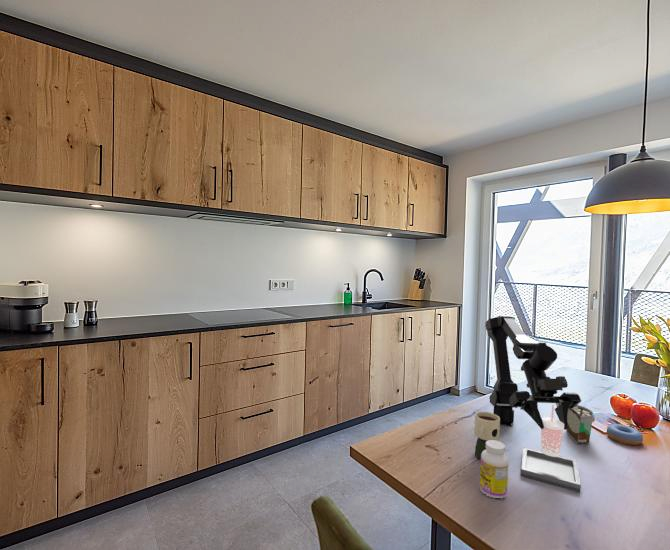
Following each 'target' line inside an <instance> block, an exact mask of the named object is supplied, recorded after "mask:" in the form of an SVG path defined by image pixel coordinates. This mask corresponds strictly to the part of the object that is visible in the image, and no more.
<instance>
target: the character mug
mask: <svg viewBox="0 0 670 550" xmlns="http://www.w3.org/2000/svg"><path fill="white" fill-rule="evenodd" d="M493 413H494V412H488V411H477V412H475V415H474V427H473V428H474V429H473V431H474V432H473V433H474V436H475V437H477V438H476V441H475V447H474V448H475V449H474V455H475V456H476V457H477V458H479V459H481V453H482V452H483V451H484V450H485V449H486V441H488V440H496V441H499V439H500V429H501V428H500V427H501V426H500V425H501V424H500V418H499V416H497V415H495V414H493Z"/></svg>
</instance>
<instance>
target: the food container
mask: <svg viewBox="0 0 670 550" xmlns="http://www.w3.org/2000/svg"><path fill="white" fill-rule="evenodd" d="M595 421H596V418H595V414H594V412H593V411H592V410H591V409H589V408H587V407H585V406H582V405H579V404H578V405H576V406H575V407H574V408H571V409H568V414H567V429H566V431H565V432H566V433H567V434H568V435H569V436H570V437H571V439H573V441H574V442H575V443H576V444H577V445H587V444H589V443H590V438H591V433H592V432H591V431H592V425H593V423H594V422H595Z"/></svg>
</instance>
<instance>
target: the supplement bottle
mask: <svg viewBox="0 0 670 550" xmlns="http://www.w3.org/2000/svg"><path fill="white" fill-rule="evenodd" d="M505 452H506V445H505V444H504V442H501V441H499V440H488V441H486V449H485V450H484V451H483V452H482V453H481V458H480V469H479V471H480V472H479V476H480V477H479V489H480V491H481V493H482V494H484V495H485V494H486V495H485V496H487V495H488V496H490V497H489V498H491V497H493V498H492V499H495V498H501V499H504V498H505V497H507V494H508V484H509V483H508V482H509V480H508V479H509V478H508V477H509V462H510V461H509V457H508V455H507V454H506V453H505ZM488 496H487V497H488ZM503 497H504V498H503Z"/></svg>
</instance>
